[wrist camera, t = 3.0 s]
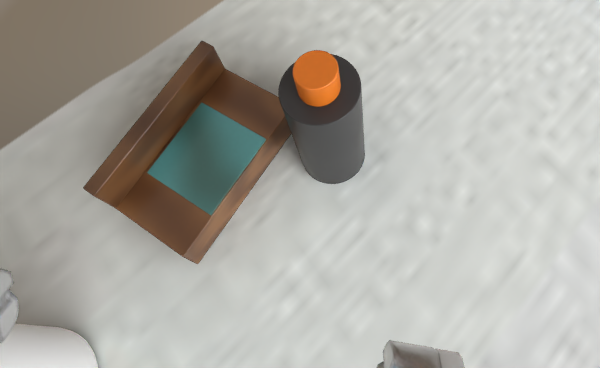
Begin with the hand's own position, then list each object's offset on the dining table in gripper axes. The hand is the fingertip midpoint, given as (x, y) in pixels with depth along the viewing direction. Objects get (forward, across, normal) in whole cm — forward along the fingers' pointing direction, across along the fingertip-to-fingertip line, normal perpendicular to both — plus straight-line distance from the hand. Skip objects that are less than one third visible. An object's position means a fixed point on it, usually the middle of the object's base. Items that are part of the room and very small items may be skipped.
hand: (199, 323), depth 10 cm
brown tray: (+26, +5, +12) cm, 29 cm away
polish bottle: (+26, -4, +9) cm, 28 cm away
